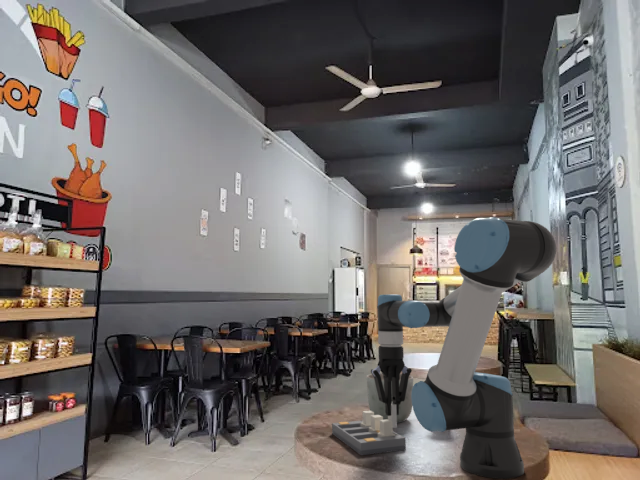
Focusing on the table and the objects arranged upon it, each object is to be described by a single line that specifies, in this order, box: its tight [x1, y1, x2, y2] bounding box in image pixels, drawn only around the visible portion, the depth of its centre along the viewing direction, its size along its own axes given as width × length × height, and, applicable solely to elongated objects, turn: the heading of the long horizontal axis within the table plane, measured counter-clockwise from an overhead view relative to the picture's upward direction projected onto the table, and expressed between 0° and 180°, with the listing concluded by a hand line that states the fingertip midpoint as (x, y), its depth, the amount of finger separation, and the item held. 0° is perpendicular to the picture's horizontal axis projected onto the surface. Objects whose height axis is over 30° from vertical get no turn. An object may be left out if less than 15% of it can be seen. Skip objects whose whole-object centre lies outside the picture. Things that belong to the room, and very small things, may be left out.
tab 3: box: [378, 419, 395, 437], centre depth 131 cm, size 3×4×6 cm
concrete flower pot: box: [365, 372, 414, 424], centre depth 161 cm, size 17×17×15 cm
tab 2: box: [369, 415, 383, 432], centre depth 137 cm, size 3×4×6 cm
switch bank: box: [331, 419, 407, 456], centre depth 135 cm, size 22×14×3 cm, turn 20°
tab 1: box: [361, 410, 374, 427], centre depth 142 cm, size 3×4×6 cm
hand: (392, 426), depth 132 cm, fingers closed
